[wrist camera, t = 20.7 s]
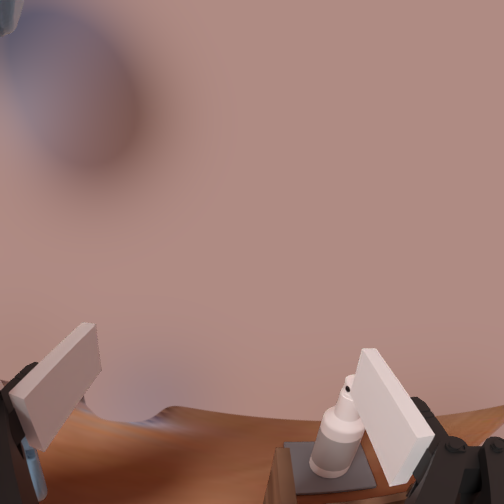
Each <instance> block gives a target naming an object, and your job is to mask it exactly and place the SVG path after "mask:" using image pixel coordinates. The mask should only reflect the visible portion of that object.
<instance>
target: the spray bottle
mask: <svg viewBox="0 0 504 504" xmlns="http://www.w3.org/2000/svg"><path fill="white" fill-rule="evenodd" d="M354 377H355V374H352V375H349V376H347V377H346V378H345V382H344V386H343V388H342V389H341V391H340V394H339V398H338V401H337V402H336V406H332V407H330V408H328V409H327V410H326V412H325V413H324V414H323V418H322V421H321V424H320V428H319V431H318V435H317V438H316V441H315V444H314V448H313V451H312V454H311V457H310V461H309V464H310V468H311V469H312V471H313V472H314V473H315V474H317V475H318V476H321V477H323V478H337V477H340V476H342V475H343V474H345V473H346V472H347V470H348V469H349V467H350V465H351V462H352V460H353V458H354V455H355V453H356V451H357V449H358V446H359V444H360V441H361V439H362V436H363V434H364V431H365V427H364V424H363V422H362V420H361V417H360V415H359V413H358V411H357V408H356V406H355V404H354V401H353V399H352V397H351V395H350V391H351V387H352V384H353V380H354Z"/></svg>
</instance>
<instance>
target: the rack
mask: <svg viewBox="0 0 504 504" xmlns="http://www.w3.org/2000/svg"><path fill="white" fill-rule="evenodd" d="M413 484H414V483H413ZM413 484H411V485H410V487H409V488H408V489H407V491H406V492H402V493H397V494H392V495H387V496H381V497H375V498H369V499H363V500H356V501H348V502H339V503H328V504H404V502H405V500H406V498H407V497H406V494H407V493H408V492H409V490H410V489H411V487H412V486H413ZM263 504H297V498H296V491H295V483H294V476H293V468H292V461H291V454H290V448H276V449H275V454H274V458H273V463H272V467H271V472H270V476H269V481H268V485H267V489H266V493H265V498H264V502H263Z"/></svg>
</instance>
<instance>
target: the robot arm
mask: <svg viewBox="0 0 504 504" xmlns="http://www.w3.org/2000/svg"><path fill="white" fill-rule="evenodd" d="M23 4H24V0H0V37H3V36H4V35H6V34H10V33H11V32H13V31H14V30H15V29H16V27H17V23H18V20H19V18H20V15H21V11H22V8H23ZM101 370H102V369H101V362H100V354H99V347H98V338H97V329H96V324H92V323H86V322H82V323H81V324H80V325H79V326H78V327H77V328H76V329H75V330H74V331H73V332H71V333H70V334H69V335H68V336H67V337H66V338H65V339H64V340H63V341H62V342H61V343H60V344H58V345H57V346H56V347H55V348H54V349H53V350H52V351H51V352H50V353H49V354H48V355H47V356H46V357H45V358H44V359H43V360H42V361H41V362H39V363H38V362H34V363H32V364H30V365H27V366H26V367H25V368H24V369H22V370H21V371H20V373H18V374H17V375H16V376H15V378H13V379H12V380H11V381H10V382H9V383H8V384H7V385H6V386H5V387H4V386H3V384H2V382H1V381H0V504H39V502H40V501H42V500H44V499H45V497H46V496H47V486H46V482H45V479H44V475H43V472H42V468H41V464H40V461H39V457H38V453H37V449H38V450H40V451H43V452H45V451H46V449H47V448H48V446H49V445H50V443H51V442H52V440H53V439H54V437H55V436H56V434H57V433H58V431H59V430H60V428H61V427H62V425H63V424H64V423H65V421H66V420H67V418H68V417H69V415H70V414H71V412H72V411H73V410H74V408H75V407H76V405H77V404H78V402H79V401H80V400H81V398H82V397H83V395H84V394H85V393H86V391H87V389H88V388H89V387H90V386H91V384H92V383H93V381H94V380H95V379H96V377H97V376H98V375H99V373H100V372H101ZM350 395H351V397H352V399H353V401H354V404H355V406H356V408H357V411H358V413H359V415H360V417H361V420H362V422H363V424H364V427H365V429H366V431H367V434H368V436H369V438H370V441H371V443H372V445H373V448H374V450H375V452H376V455H377V457H378V459H379V462H380V464H381V467H382V469H383V471H384V474H385V476H386V479H387V481H388V484H389V486H395V485H400V484H405V483H407V482H408V480H409V479H410V477H411V476H412V474H413V475H414V477H415V479H416V481H415V483H414V484H413V486H412V487H411V489H410V490H409V492H408V493H407V494H406V497H407V498H406V500H405V502H404V504H504V439H502V438H500V437H490V438H488V439H486V441H485V442H484V444H483V445H482V446H467V444H466V442H464V441H463V440H462V439H460V438H458V437H454V436H448V434H447V433H446V431H445V430H444V428H443V427H442V426H441V424H440V423H439V421H438V420H437V418H436V417H435V416H434V414H433V413H432V412H431V411H430V409H429V407H428V406H427V404H426V403H425V402H424V401H422V400H421V399H419V398H418V397H409V395H408V394H407V392H406V391H405V389H404V388H403V386H402V385H401V383H400V382H399V381H398V379H397V378H396V376H395V375H394V373H393V372H392V370H391V369H390V368H389V366H388V365H387V363H386V362H385V360H384V359H383V358H382V356H381V355H380V353H379V352H378V351H377V349H376V348H365V349H364V348H362V351H361V355H360V358H359V362H358V366H357V370H356V373H355V377H354V380H353V384H352V387H351V391H350Z"/></svg>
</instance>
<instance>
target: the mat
mask: <svg viewBox="0 0 504 504" xmlns="http://www.w3.org/2000/svg"><path fill="white" fill-rule="evenodd" d="M314 444H315V442H284V448H290V454H291V461H292V468H293V476H294V483H295V491H296V495H312V494H327V493H339V492H348V491H356V490H364V489H371V488H376V486H377V485H376V482H375V480H374V477H373V474H372V472H371V469H370V466H369V464H368V461H367V459H366V456H365V453H364V451H363V448H362V446H361V443H360V444H359V446H358V449H357V451H356V453H355V455H354V458H353V460H352V462H351V465H350V467H349V469H348V470H347V472H346V473H345V474H343V475H342V476H340V477H337V478H323V477H321V476H318V475H317V474H315V473H314V472H313V471H312V469H311V468H310V464H309V461H310V457H311V454H312V451H313V448H314Z"/></svg>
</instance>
